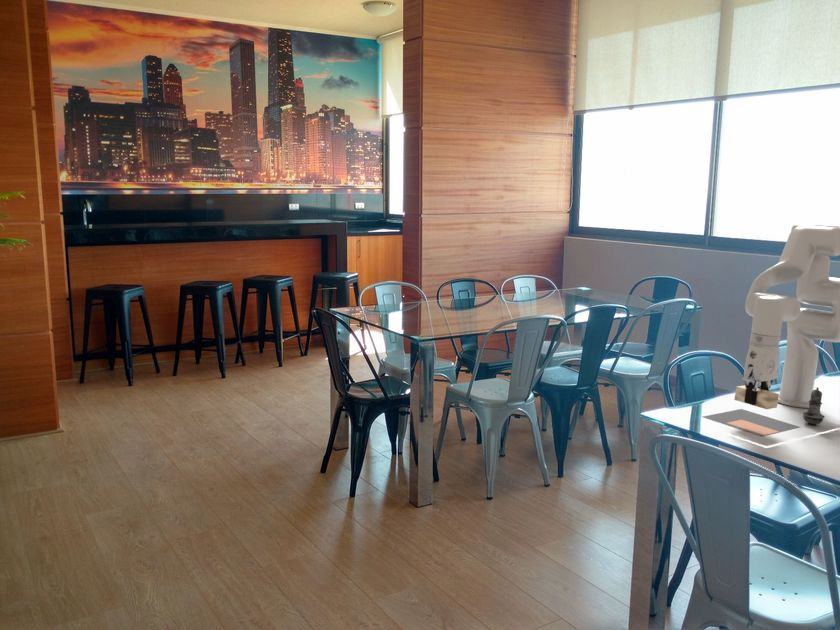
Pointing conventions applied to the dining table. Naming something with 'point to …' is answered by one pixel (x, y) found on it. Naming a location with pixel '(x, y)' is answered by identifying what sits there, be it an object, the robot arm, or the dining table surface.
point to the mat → (751, 422)
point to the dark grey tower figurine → (814, 409)
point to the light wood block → (759, 397)
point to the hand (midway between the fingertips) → (755, 402)
